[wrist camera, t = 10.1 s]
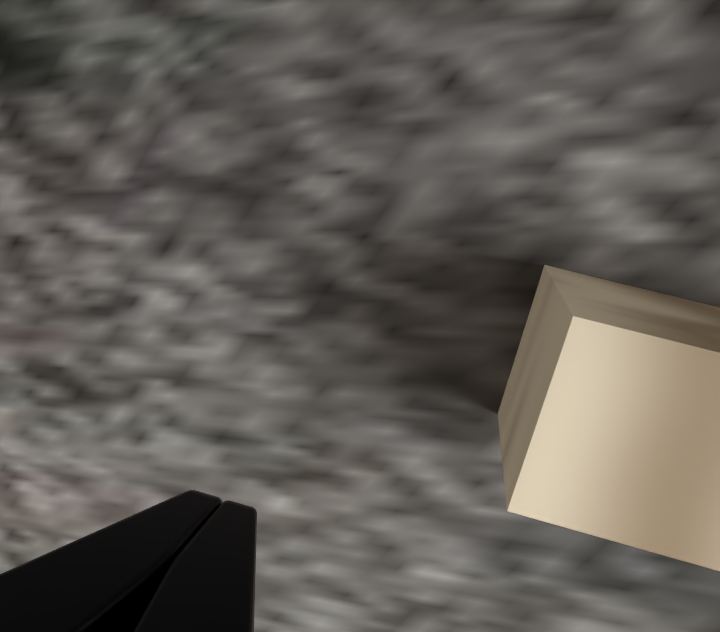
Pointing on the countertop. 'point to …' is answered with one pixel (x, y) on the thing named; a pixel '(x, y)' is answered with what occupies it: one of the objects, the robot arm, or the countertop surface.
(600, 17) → the countertop surface
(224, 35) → the countertop surface
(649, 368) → the block
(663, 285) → the countertop surface
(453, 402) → the countertop surface
